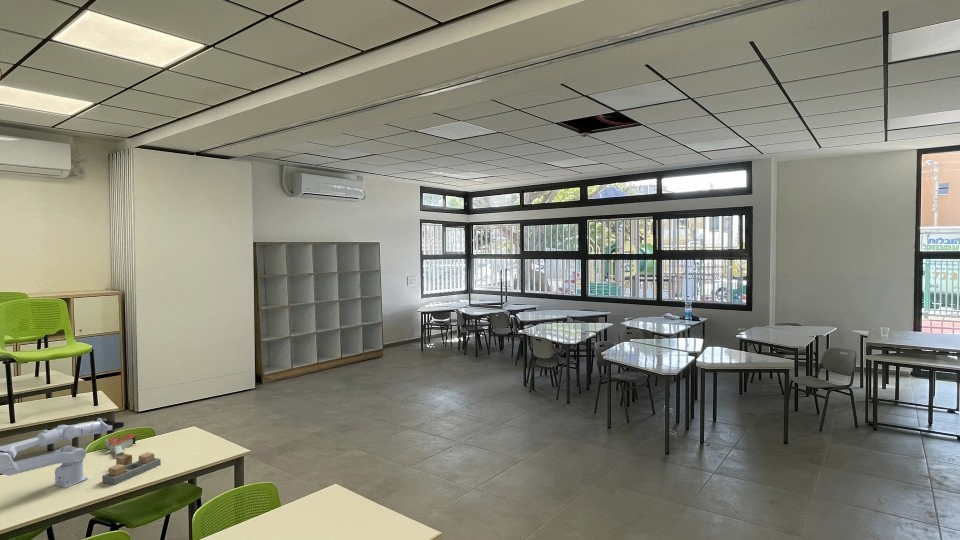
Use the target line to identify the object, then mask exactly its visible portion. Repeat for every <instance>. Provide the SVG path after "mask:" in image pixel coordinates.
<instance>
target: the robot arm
mask: <svg viewBox="0 0 960 540" xmlns="http://www.w3.org/2000/svg"><path fill="white" fill-rule="evenodd" d="M102 419H103V418H100V417H98V418H96V419H94V421H87V422H82V423H81V422H80V423H76V424H70V425H67V424H59V425H58V426H56V428H54V429H50V430H48V429H45V430H42V432H40V433H38V434H37V435H36V436H35V437H32V438H29V439H25V440H21V441H17V442H13V443H9V444H5V445H0V474H1V475H5V476H8V477H9V476H13V475H18V474H22V473H25V472H26V473H27V472H30V471H33V470H38V469H41V468H45V467H50V466H53V465H58V464H61V465H59V466H58V467H55V469H54V482H55V483H54V485H53V486H56V487H61V488H65V489H66V488H69V487H71V486H73V485H74V486H75V485H76V484H78V483H81V482H84V481H86V480H88V479H89V477H87V476H84V463H83V462H84V459H85V458H86V456H87V452H86V449H85V448H82V447H77V446H73V445H69V444H68V445H65V446H63V447H61V448H59V449H56V450H55V451H53V452H49V453H45V454H42V455H37V456H32V457H28V458H24V459H20V460H19V459H18V460H15V461H14V459H15V457H16V456H17V454H18V453H19V452H23V451H26V450H28V449H30V448H34V447H36V446H40V447H45V446H48V445H51V444H52V445H53V444H55V443H57V442H61V441H62V440H68V441H70V440H73V439H74V438H79V437H85V436H91V435H95V434H98V435H99V434H102V433H104V432H107V434H112V433H113V432H115V431H116V430H120V429H122V428H124V425H125V422H124V421H123V422H122V421H114V420H102Z"/></svg>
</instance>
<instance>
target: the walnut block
mask: <svg viewBox="0 0 960 540" xmlns="http://www.w3.org/2000/svg"><path fill="white" fill-rule="evenodd" d="M115 461H116V462H115V465H117V464H121V465H126V466H127V465H129V464H131V463H133V455H132V454H127V453H125V454H124V455H121V456H118V457H116V458H115Z"/></svg>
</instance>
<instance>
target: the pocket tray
mask: <svg viewBox="0 0 960 540" xmlns="http://www.w3.org/2000/svg"><path fill="white" fill-rule="evenodd" d="M161 460H162V459H161V458H157V457H155V453H152V452H145V453H142V454H140V455H138V460H136V461H133V462H132V463H131V464H129V465H127V466H126V465H121V464H117V465H116V464H115V465H112V466H111V467H108V473H104V474H103V475H102V483H105V484H109V485H113V486H116V485H118V484H120V483H122V482H125V481H127V480H130V479H132V478H134V477H136V476H139V475H141V474H143V473H145V471H146V472H148V471H150V470H153V469H154V467H155V468H157V467H159V466H161V463H162V462H161ZM156 466H157V467H156ZM147 470H148V471H147ZM142 472H143V473H142ZM140 473H141V474H140Z"/></svg>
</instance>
